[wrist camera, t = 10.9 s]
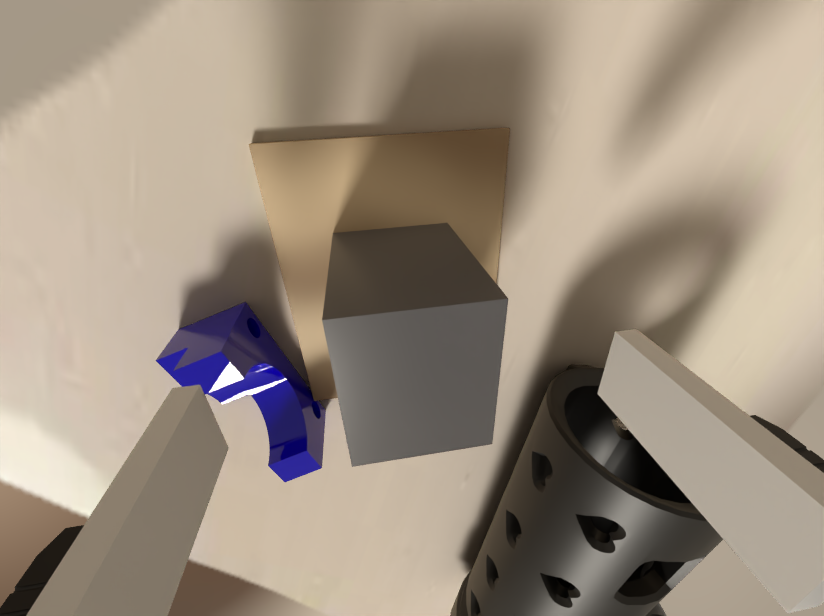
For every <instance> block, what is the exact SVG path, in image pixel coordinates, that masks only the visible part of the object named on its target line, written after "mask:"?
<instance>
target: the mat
mask: <svg viewBox="0 0 824 616" xmlns="http://www.w3.org/2000/svg"><path fill="white" fill-rule="evenodd" d="M509 135H510V128H494V129H477V130H461V131H445V132H428V133H412V134H395V135H379V136H362V137H346V138H329V139H313V140H297V141H280V142H264V143H251V144H249V147H250V151H251V155H252V159H253V163H254V167H255V171H256V175H257V179H258V183H259V187H260V191H261V195H262V198H263V202H264V206H265V210H266V214H267V218H268V222H269V226H270V230H271V234H272V238H273V242H274V246H275V250H276V253H277V257H278V261H279V265H280V269H281V273H282V277H283V281H284V285H285V289H286V293H287V297H288V301H289V305H290V308H291V312H292V316H293V320H294V324H295V328H296V332H297V336H298V340H299V344H300V348H301V352H302V356H303V360H304V363H305V367H306V371H307V375H308V379H309V383H310V387H311V391H312V395H313V399H314V401H318V400H325V399H332V398H338V395H337V390H336V386H335V381H334V376H333V371H332V366H331V361H330V356H329V352H328V347H327V342H326V337H325V332H324V327H323V322H322V317H323V308H324V300H325V292H326V284H327V276H328V268H329V260H330V252H331V243H332V235H333V233H339V232H350V231H361V230H372V229H383V228H394V227H406V226H417V225H428V224H439V223H448V224H449V225H450V227H451V228H452V229H453V230H454V232H455V233H456V234H457V235H458V237H459V238H460V239H461V240H462V242H463V243H464V244H465V245H466V247H467V248H468V249H469V250H470V252H471V253H472V254H473V255H474V257H475V258H476V259H477V260H478V262H479V263H480V264H481V265H482V267H483V268H484V269H485V270H486V272H487V273H488V274H489V275H490V277H491V278H492V279H493V280H494V282H495V283H496V281H497V270H498V259H499V248H500V236H501V225H502V214H503V203H504V191H505V180H506V169H507V158H508V146H509Z"/></svg>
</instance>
